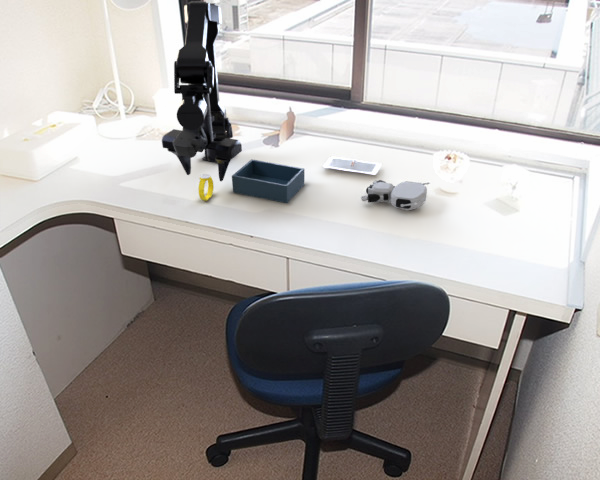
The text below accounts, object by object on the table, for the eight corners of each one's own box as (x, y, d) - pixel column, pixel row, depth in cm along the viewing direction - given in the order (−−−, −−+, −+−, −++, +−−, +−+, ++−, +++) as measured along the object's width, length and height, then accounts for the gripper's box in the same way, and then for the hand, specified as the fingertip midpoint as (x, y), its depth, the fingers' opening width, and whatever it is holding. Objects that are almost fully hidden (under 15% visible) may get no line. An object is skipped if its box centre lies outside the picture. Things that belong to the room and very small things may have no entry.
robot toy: (358, 210, 136) (419, 218, 130) (358, 193, 133) (420, 201, 128) (373, 190, 145) (430, 197, 139) (373, 173, 142) (432, 180, 137)
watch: (207, 204, 136) (205, 182, 133) (197, 202, 137) (194, 180, 134) (216, 193, 141) (214, 171, 137) (206, 192, 142) (204, 170, 138)
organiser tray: (232, 192, 142) (231, 175, 139) (252, 175, 150) (251, 159, 147) (287, 203, 137) (287, 186, 134) (304, 184, 145) (304, 168, 143)
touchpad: (375, 178, 148) (376, 171, 147) (322, 170, 152) (322, 163, 151) (381, 167, 154) (382, 160, 153) (330, 159, 158) (330, 152, 157)
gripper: (142, 119, 123) (153, 184, 133) (216, 131, 118) (222, 198, 127) (170, 104, 131) (179, 166, 141) (240, 115, 126) (244, 179, 135)
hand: (205, 177), depth 136 cm, fingers open, 9 cm apart
